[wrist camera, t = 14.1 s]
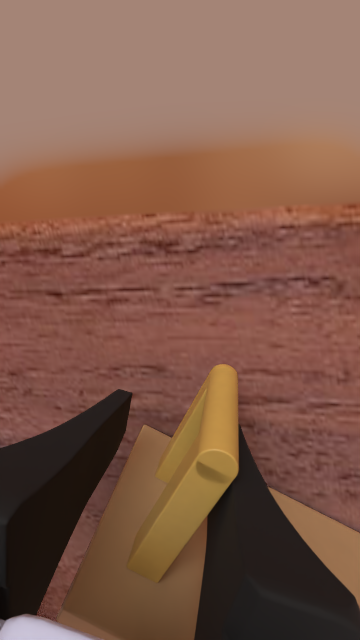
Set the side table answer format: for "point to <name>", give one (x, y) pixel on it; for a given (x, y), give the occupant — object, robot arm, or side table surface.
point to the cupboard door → (179, 527)
